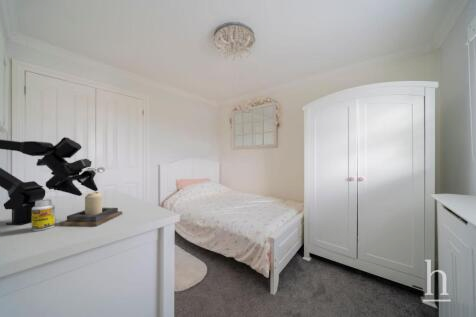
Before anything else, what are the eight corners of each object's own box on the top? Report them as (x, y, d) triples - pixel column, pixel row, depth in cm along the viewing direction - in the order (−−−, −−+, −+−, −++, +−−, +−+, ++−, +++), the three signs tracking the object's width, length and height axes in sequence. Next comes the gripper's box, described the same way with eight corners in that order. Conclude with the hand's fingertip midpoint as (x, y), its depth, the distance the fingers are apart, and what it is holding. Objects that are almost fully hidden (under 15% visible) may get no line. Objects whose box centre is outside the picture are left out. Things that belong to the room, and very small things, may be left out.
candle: (97, 218, 71) (97, 193, 71) (81, 219, 69) (81, 194, 69) (104, 213, 76) (104, 191, 76) (90, 214, 75) (90, 191, 75)
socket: (60, 225, 66) (60, 217, 66) (92, 213, 80) (92, 206, 80) (96, 226, 66) (96, 217, 66) (122, 214, 80) (122, 207, 80)
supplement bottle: (27, 232, 60) (27, 203, 60) (37, 226, 65) (37, 199, 65) (49, 230, 62) (49, 201, 62) (57, 224, 67) (57, 198, 67)
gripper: (54, 151, 62) (88, 182, 64) (91, 152, 81) (117, 176, 82) (29, 173, 61) (64, 204, 63) (72, 169, 80) (98, 193, 81)
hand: (89, 192), depth 72 cm, fingers open, 9 cm apart
